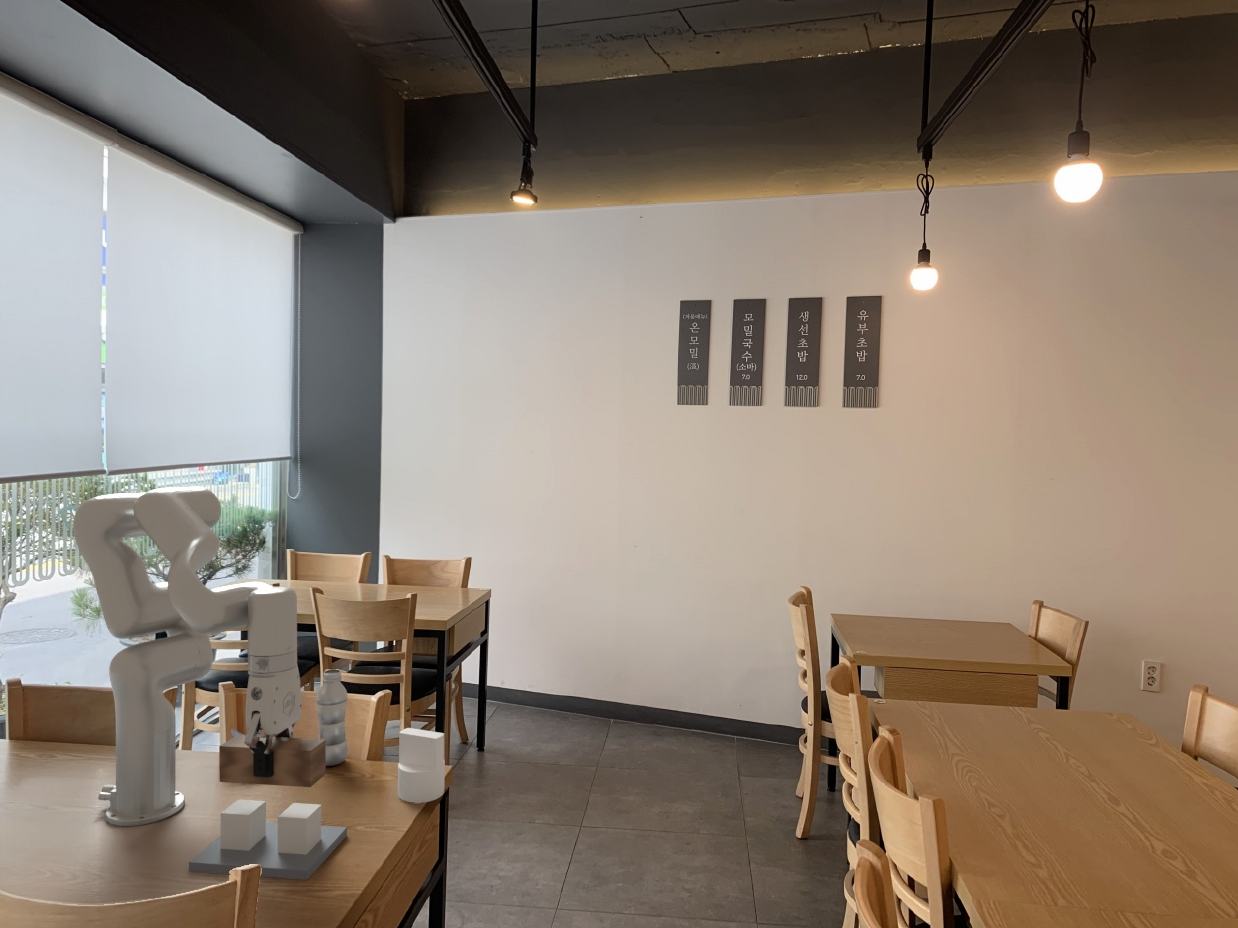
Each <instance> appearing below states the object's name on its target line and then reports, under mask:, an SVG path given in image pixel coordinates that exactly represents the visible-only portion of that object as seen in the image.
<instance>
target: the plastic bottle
mask: <svg viewBox="0 0 1238 928" xmlns="http://www.w3.org/2000/svg"><path fill="white" fill-rule="evenodd" d="M322 675H323V678H322V682H323V684H322V686H321V687H320V688H319V690H318V692H317V694H316V697H315V698H316V699H315V701H316V707H317V714H318V736H317V737H318V738H317V739H324V740H326V767H329V766H331V767H332V766H336V765H339V764H341V763H343V762H344V761H345V760H346V758H347V756H348V742H347V739H346V726H345V724H346V711H347V710H346V709H347V704H348V703H347V702H348V691H347V689H346V688H345V686H344V685H343V683H342V682H341V680H342V679H343V678H342V670H340V669H337V668H336V669H335V668H334V669H333V668H332V669H327V670H325V671H323V674H322Z"/></svg>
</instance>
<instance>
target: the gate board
mask: <svg viewBox="0 0 1238 928" xmlns="http://www.w3.org/2000/svg"><path fill="white" fill-rule="evenodd" d="M266 815H267V801H266V800H251V799H237V800H236V801H234V802H233V803H232V804H230V805H229V806H228V807H227V808H225V809H224V810H223V811H221V812H220V835H219V836H218V837H217V838H216V839H215V840H214V841H213V842H211V843H210V844H209V845H208V846H207V847H204V849H202V851H201V852H199V853H198V854H197V855H196V856H194V857H193V858H192V859H190V861H189V862H188V872H192V873H208V874H210V873H211V874H220V875H230V874H229V871H230V870H232V869H233V868H236V867H241V866H244V865H249V864H260V865H261V868H262V874H261V877H263V878H273V877H274V878H275V877H276V878H277V879H289V880H304V881H308V880H309V878H310V877H311V876H312V875H313V874H314V873H315V872H316V871H317V869H319V868H320V866H321V865H322V864H323V863H324V862H325V861H326V860H327V858H329V856H330V855H331V854H332V853H333V852H334V851H335V850H336V848H338V847H339V845H340V844H341V843H342V841H344V839H345V838H346V837H347V835H348V827H346V826H332V825H322V804H317V803H302V802H301V803H300V802H292V803H291V805H289V806H288V807H287V808H286V809H285V810H284V811H283V812H282V813H280V814H279V815H278V816H277V822H272V821H266V820H267V817H266ZM261 877H260V878H261Z"/></svg>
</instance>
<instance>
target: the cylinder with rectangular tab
mask: <svg viewBox="0 0 1238 928" xmlns="http://www.w3.org/2000/svg"><path fill="white" fill-rule="evenodd" d="M398 733H399V735H398V736H399V738H398V741H399V743H398V745H399V746H398V764H397V797H398V796H399V797H400V798H401V799H403V800H406V801H409V802H415V803H414V804H422V802H423V803H428V802H432V801H435V800H437V799H439V798H440V797H442V796H443V795H444V793H445V771H446V770H445V768H446V767H445V766H446V765H445V733H443V732H437V731H433V730H432V731H431V730H426V729H425V730H424V729H419V728H413V727H407V728H404V729H402V730H401V731H399V732H398ZM399 797H398V798H399Z"/></svg>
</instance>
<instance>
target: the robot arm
mask: <svg viewBox="0 0 1238 928" xmlns="http://www.w3.org/2000/svg"><path fill="white" fill-rule="evenodd" d="M221 515H222V507H221V503H220V500H219V498H218V497H217V495H215V493H213V491H211V490H210V489H208V488H206V487H201V486H184V487H183V486H182V487H181V486H180V487H163V488H162V487H161V488H155V489H152V490H147V491H146V492H129V493H128V492H125V493H110V494H102V495H98V496H97V495H96V496H95V497H91V498H89V499H86V500H85V501H83V502H82V503H81V504H80V505H79V506H78V507H77V510H76V512H75V514H74V519H73V534H74V540H75V543H76V545H77V549H78V550H79V552H80V554H81V556H82V558H83V559H84V561H85V563H86V564H87V566H88V569H89V570H90V572H91V576H92V578H93V582H94V586H95V589H96V593H97V597H98V601H99V604H100V607H101V608H100V609H101V612H102V614H103V619H104V622H105V626H106V627H107V630H108V631H109V633H110V634H111V636H113V637H114V638H117V639H119V640H120V639H123V640H125V639H126V640H127V639H134V638H139V637H144V636H149V635H154V634H157V633H164V632H165V633H166V634H167V637H163V638H156V639H152V640H148V641H144V642H140V643H136V644H133V645H130V646H128V647H125V648H124V649H122V650H120V651H118V652H117V653H116V654H115V655H114V656H113V658H112V659H111V661H110V663H109V669H108V676H109V681H110V685H111V689H112V690H111V691H112V694H113V700H114V708H115V709H114V711H115V784H110V783H109V784H108V783H107V784H104V785H103V786H102V788H101V792H100V793H99V794H98V797H97V799H98V800H99V801H109V802H110V803H109V805H110V806H109V807H108V808H107V809H106V811H105V821H106V822H107V823H109V824H111V825H113V826H119V827H133V826H143V825H146V824H147V825H148V824H152V823H155V822H159V821H161V820H164V819H167V818H169V817H171V816H172V815H175V814H176V813H178V812H179V811H180V810H182V808H183V807H184V805H185V802H186V797H185V795H184V793H182V792H180V791H178V790H176V763H177V761H176V752H177V751H176V750H177V748H176V740H177V739H176V738H177V737H176V735H177V734H176V733H177V731H176V729H177V728H176V727H177V726H176V724H177V723H176V711H175V708H174V706H173V705H172V703H171V702H170V701H169V700H168V699H167V698H166V697H165V695H164V691H166V690H169V689H171V688H175V687H177V686H182V685H185V684H188V683H191V682H194V681H197V680H199V679H202V678H203V677H205V676H207V675H208V674H209V672H210V671H211V669H212V667H213V662H214V653H213V648H212V643H211V640H210V637H209V635H216V634H219V633H225V632H228V631H232V630H236V629H243V628H247V674H248V675H249V676H248V681H247V682H248V683H247V689H246V701H245V702H246V703H245V730H246V734H245V736H246V737H245V740H244V743H245V744H246V745H247V746H249V748H250V749H251V753H252V754H253V775H254V776H255V777H272V776H273V774H274V752H271V747H272V740H273V737H285V738H294V737H293V736H294V726H295V725H296V723H297V722H298V721H299V720H300V719H301V717H302V715H303V710H302V709H303V707H302V706H303V704H302V703H303V702H302V688H301V676H300V671H299V667H298V666H299V665H298V616H297V615H298V605H297V604H298V597H297V593H296V591H295V590H294V589H293V588H291V587H288V586H273V585H271V584H268V583H267V582H263V581H259V580H258V581H255V580H254V581H247V582H243V583H242V582H241V583H234V584H228V585H223V586H216V587H213V588H212V587H211V588H209V587H206V585H205V584H203V582H202V581H201V580H200V579H199V577H198V576H197V575H196V572H198V571H199V570H201V569H202V568H203V567H205V566H206V565H208V564H209V563H210V562H211V561H212V560H213V559H214V558H215V556H216V555H217V553H218V552H219V549H220V545H221V544H220V539H219V537H218V536H217V534H216V533H215V532H214V531H213V530H212V528H213V527H215V526H216V525H217V524H218V523H219V521H220V519H221ZM139 537H149V539H150V540H151V541H152V542H153V543H154V545H155V546H156V547H157V548H158V550H159V551H160V552H161V554H163V555H164V557H165V558H166V559H167V561H169V563H170V567H169V570H168V574H167V581H163V582H156V583H154V582H152V581H151V579H150V577H149V575H148V571H147V567H146V564H145V561H144V559H143V558H142V557H141V555H140V554H138V552H137V551H135V549H134V548H132V547H131V546H130V545H129V544H127V543H125V542H124V541H123V539H126V538H128V539H129V538H139ZM261 731H263V732H261ZM260 737H261V738H266V742H265V744H264V743H263V742H262V741H260Z"/></svg>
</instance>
